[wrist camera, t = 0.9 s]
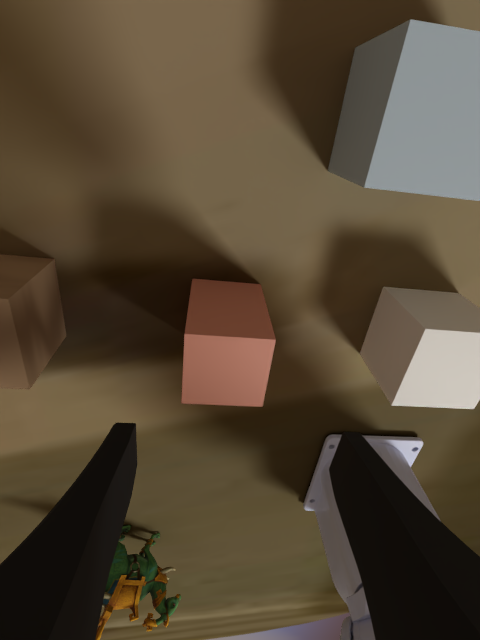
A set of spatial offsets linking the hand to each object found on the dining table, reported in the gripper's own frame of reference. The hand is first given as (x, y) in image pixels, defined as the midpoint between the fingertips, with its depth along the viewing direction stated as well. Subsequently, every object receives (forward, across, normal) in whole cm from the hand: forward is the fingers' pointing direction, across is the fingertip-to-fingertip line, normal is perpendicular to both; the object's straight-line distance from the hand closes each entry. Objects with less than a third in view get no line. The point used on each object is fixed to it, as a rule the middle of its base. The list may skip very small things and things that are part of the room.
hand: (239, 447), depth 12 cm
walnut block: (+10, +12, 0) cm, 16 cm away
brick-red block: (+10, 0, 0) cm, 11 cm away
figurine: (+11, +7, +24) cm, 27 cm away
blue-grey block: (+10, -7, -11) cm, 16 cm away
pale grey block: (+10, -12, 0) cm, 16 cm away
